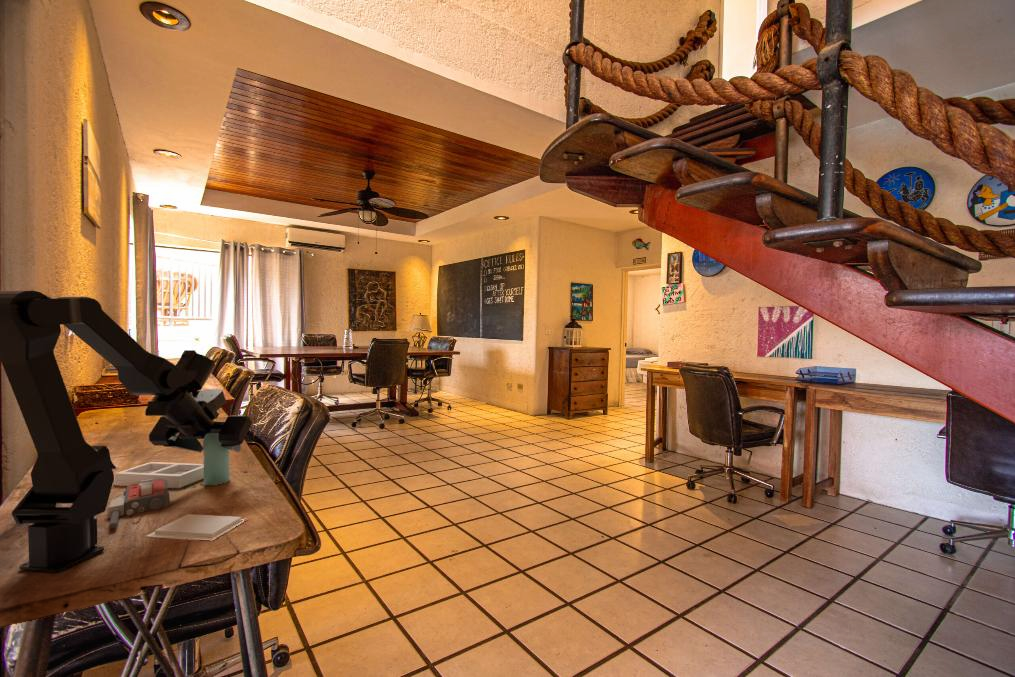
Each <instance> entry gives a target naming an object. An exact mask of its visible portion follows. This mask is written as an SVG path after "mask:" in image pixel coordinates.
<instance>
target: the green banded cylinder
mask: <svg viewBox="0 0 1015 677" xmlns="http://www.w3.org/2000/svg"><path fill="white" fill-rule="evenodd" d="M225 421H226V420H219V421H217V420H215V422H225ZM218 434H219V433H208V434H206V435H205V437H204V439H202V446H203V450H202V452H203V454H202V455H203V456H202V457H203V459H202V460H203V463H202V464H203V468H204V478H203V485H204V486H205V485H215V486H219V485H218V484H221V485H223V484H222V483H224V484H226V483H225V482H227V483H228V481H229V480H230V478H231V476H230V475H231V473H230V472H231V471H230V470H231V468H230V465H231V464H230V450H229V449H227V448H224V447H221V443H220V442H219V439H218ZM230 481H231V480H230ZM230 481H229V482H230Z"/></svg>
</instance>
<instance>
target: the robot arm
mask: <svg viewBox="0 0 1015 677" xmlns="http://www.w3.org/2000/svg"><path fill="white" fill-rule="evenodd" d="M61 325H63V326H65V327H66V328H67V329H68V330H69V331H70V332H71V333H72V334H74V335H75V336H76V337H77V338H79V339H80V340H81V341H82V342H83V343H85V344H86V345H87V346H89V347H90V348H91V349H92V350H94V352H95V353H97V354H98V355H100V356H101V358H103V359H104V360H106V362H108V363H109V364H111V366H113V367H114V369H116V371H117V379H118V382H120V384H122V386H123V387H124V388H125V389H126V391H127V392H128V393H129V394H131V395H134V396H153V397H152V399H151V400H150V401H147V407H146V408H145V412H144V413H145V414H144V415H145V416H147V417H159V418H158V420H157V421H156V424H155V425H154V427H153V428H152V430H151V431H150V432H149V434H148V441H149V442H150V443H151V444H152V445H153V446H157V447H158V446H159V447H160V446H162V447H164V448H174V449H179V450H185V451H190V452H196V453H202V452H203V444H201V442H200V441H199V440H203V439H204V437H205V435H206V434H208V433H219V434H218V439H219V442H220V443H221V447H224V448H227V449H229V451H233V452H236V453H240V451H241V449H242V447H241V446H242V444H243V443H244V442H245V440H246V437H247V435H248V432H249V431H250V429H251V426H252V424H253V421H252V419H251V418H250V417H249V415H248V414H231V415H228V416H227V417H226V419H225V420H224V421H225V422H216V421H215V420H217V419H218V417H219V415H220V413H219V412H218V410H220V409H221V408H222V407H223V406H224V405H225V404H227V399H226V397H225V394H224V391H223V389H221V388H213V389H212V388H205V389H203V388H204V386H205V384H206V383H207V381H208V380H209V377H210V376H211V374H212V373H213V371H214V369H215V367H216V364H215V361H214V360H213V359H211V358H209V357H207V356H206V355H203V354H200V353H198V352H196V350H194V349H192V350H187V349H185V350H184V351H183V353H182V354H181V356H180V358H179V360H178V361H177V362H176V364H174V363H173V362H171V361H169V360H168V359H166V358H165V357H162V356H160V355H156V354H155V353H154V354H153V353H151V352H149V351H147V350H146V349H145V348H144V347H143V346H141V345H140V344H139V343H138V342H137V340H135V339H134V338H133V337H132V336H131V335H130V334H129V333H128V332H127V331H125V329H123V328H122V326H120V325H119V324H118V323H117V322H116V321H115V320H114V319H113V318H112V317H111V316H110V315H109V314H108V313H106V312H105V311H104V309H103V308H102V305H101V303H100V302H99V301H98V300H96V299H95V298H93V297H91V296H90V297H89V296H58V297H56V298H52V297H51V296H47V295H46V294H44V293H42V292H41V291H37V290H0V363H1V365H2V367H3V369H4V372H5V374H6V377H7V380H8V382H9V384H10V386H11V389H12V392H13V395H14V398H15V400H16V402H17V403H16V404H17V405H18V407H19V410H20V412H21V413H20V414H21V415H22V418H23V420H24V423H25V426H26V428H27V430H28V433H29V436H30V437H31V440H32V442H33V445H34V448H35V449H36V454H37V457H36V459H35V461H34V464H33V466H32V469H31V471H30V479H31V484H32V486H31V487H30V489H29V490H28V491H27V492H26V494H25V495H24V496H23V498H22V499H21V500H20V501H19V502H18V504H17V505H16V506H15V508H14V509H13V510H12V511H11V515H12V518H13V520H14V521H15V523H16V524H17V525H23V524H30V525H28V526H27V538H28V539H27V540H28V541H27V544H28V547H27V548H28V561H27V562H24V563H21V564H20V565H19V568H18V569H19V570H20V569H22V571H31V572H32V571H34V572H46V573H58V572H61V571H63V570H65V569H67V568H70V567H72V566H74V565H76V564H78V563H80V562H82V561H84V560H87V559H88V558H91V557H93V556H95V555H97V554H100V553H101V552H104V551H105V546H101V545H99V546H98V518H96V517H95V516H99V515H100V514H103V513H104V512H105V511H106V510H107V507H108V502H109V499H110V498H109V497H110V494H111V491H112V488H113V486H114V485H113V482H114V480H115V473H114V471H113V470H116V468H117V466H116V465H115V464H114V463H113V461H112V459H111V454H110V453H111V452H110V450H109V448H108V447H107V445H91V444H89V443H88V442H87V441H86V440H85V437H84V435H83V431H82V429H81V426H80V423H79V421H78V418H77V414H76V412H75V409H74V406H73V403H72V401H71V397H70V396H69V393H68V390H67V387H66V384H65V382H64V379H63V375H62V373H61V370H60V367H59V365H58V361H57V358H56V356H55V352H54V350H55V348H56V345H57V343H58V340H59V337H60V336H61V333H62V329H61ZM60 504H64V505H68V504H69V505H70V504H71V505H70V506H57V505H60Z"/></svg>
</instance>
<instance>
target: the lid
mask: <svg viewBox="0 0 1015 677" xmlns="http://www.w3.org/2000/svg"><path fill="white" fill-rule="evenodd" d="M241 518H242V516H229V515H226V516H225V515H210V514H209V515H208V514H190V513H187V514H184V515H183V516H181V517H179V518H177V519H175V520H173V521H171V522H169V523H167V524H165V525H163V526H161V527H159V528H157V529H154V531H153V532H151V533H149V534H146V536H145V538H152V539H170V540H171V539H172V540H186V539H187V541H188V540H189V541H199V540H210V541H209V542H214V541H216V540H217V539H216V538H217V537H219V536H221V535H223V534H224V533H226V532H228V531H229V532H231V531H232V530H231V529H233V528H234V529H236V528H237V527H236V526H238V525H239V526H241V525H242V524H241V523H243V522H244V519H245V518H244V519H241ZM241 520H243V521H242V522H241ZM244 523H245V522H244ZM244 523H243V524H244ZM240 524H241V525H240ZM239 526H238V527H239ZM235 527H236V528H235ZM234 529H233V530H234ZM230 530H231V531H230ZM229 532H228V533H229ZM226 534H227V533H226ZM224 535H225V534H224ZM224 535H223V536H224ZM221 537H222V536H221ZM219 538H220V537H219ZM215 539H216V540H215ZM213 540H214V541H213Z"/></svg>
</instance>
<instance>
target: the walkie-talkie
mask: <svg viewBox="0 0 1015 677" xmlns="http://www.w3.org/2000/svg"><path fill="white" fill-rule="evenodd" d="M168 489H169V488H167V480H163V479H155V480H154V479H149V480H143V481H140V482H137V483H133V484H131V485H129V486H125V490H124V491H123V495H121V496H119V497H117V498H114V499H112V500H110V502H109V505H108V506H107V518H108V519H109V526H108V527H109V528H111V529H116V528H117V527H118V524H119V523H118V522H119V518H120V516H131V515H134V514H138V513H142V512H143V513H144V512H147V511H156V510H159V509H163V508H162V507H164V508H167V507H169V502H170V501H171V500H170V493H169V490H168ZM166 506H167V507H166Z"/></svg>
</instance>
